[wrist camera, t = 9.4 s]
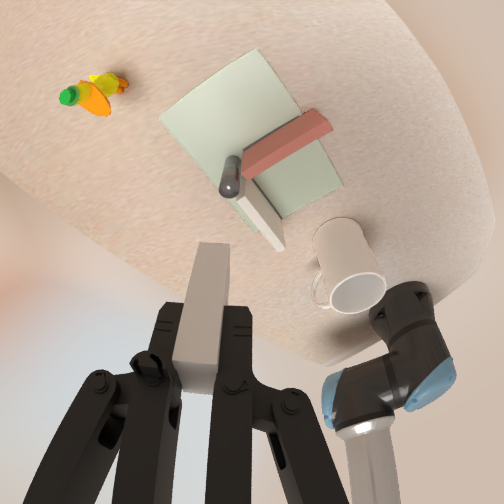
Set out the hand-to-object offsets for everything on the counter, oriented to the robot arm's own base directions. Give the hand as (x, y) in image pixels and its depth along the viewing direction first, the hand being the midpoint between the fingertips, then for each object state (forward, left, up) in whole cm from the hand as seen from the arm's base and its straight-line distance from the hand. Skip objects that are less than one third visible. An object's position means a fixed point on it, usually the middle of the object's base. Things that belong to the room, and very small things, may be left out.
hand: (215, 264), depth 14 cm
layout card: (-3, -1, -24) cm, 24 cm away
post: (-3, +2, -24) cm, 24 cm away
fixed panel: (-9, +2, -24) cm, 26 cm away
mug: (-23, -2, -24) cm, 33 cm away
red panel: (-3, -5, -23) cm, 24 cm away
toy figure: (+15, +7, -24) cm, 30 cm away
